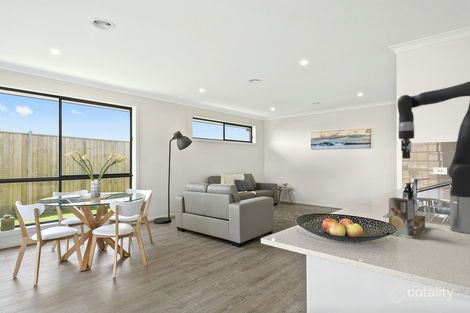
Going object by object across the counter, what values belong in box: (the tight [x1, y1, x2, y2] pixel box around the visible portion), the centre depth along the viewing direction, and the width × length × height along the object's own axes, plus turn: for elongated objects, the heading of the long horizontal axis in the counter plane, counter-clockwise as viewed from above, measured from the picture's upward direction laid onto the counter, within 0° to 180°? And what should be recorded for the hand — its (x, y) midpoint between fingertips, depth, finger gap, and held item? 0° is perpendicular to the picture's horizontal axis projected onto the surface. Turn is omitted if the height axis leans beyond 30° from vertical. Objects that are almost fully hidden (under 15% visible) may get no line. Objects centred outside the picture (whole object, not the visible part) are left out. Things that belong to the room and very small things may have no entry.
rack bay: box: [392, 214, 426, 240], centre depth 127 cm, size 13×27×6 cm, turn 136°
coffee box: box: [388, 197, 416, 235], centre depth 122 cm, size 9×6×16 cm
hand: (406, 158), depth 146 cm, fingers open, 8 cm apart
